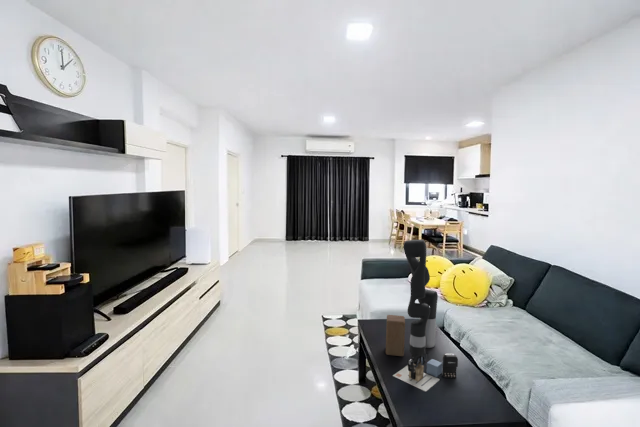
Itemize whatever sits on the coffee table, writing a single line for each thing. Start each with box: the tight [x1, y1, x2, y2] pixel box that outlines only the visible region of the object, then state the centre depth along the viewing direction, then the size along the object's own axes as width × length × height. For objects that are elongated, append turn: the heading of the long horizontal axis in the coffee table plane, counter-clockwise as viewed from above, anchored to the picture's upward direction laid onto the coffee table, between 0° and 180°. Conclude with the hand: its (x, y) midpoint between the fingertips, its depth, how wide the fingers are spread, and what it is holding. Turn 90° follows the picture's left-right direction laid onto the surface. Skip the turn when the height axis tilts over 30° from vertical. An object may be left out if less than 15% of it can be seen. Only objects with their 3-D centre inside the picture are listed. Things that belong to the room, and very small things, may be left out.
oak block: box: [409, 364, 425, 381], centre depth 170 cm, size 5×5×6 cm
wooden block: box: [385, 314, 406, 357], centre depth 196 cm, size 10×10×20 cm
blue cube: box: [426, 358, 442, 378], centre depth 175 cm, size 6×6×6 cm
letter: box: [392, 364, 440, 392], centre depth 170 cm, size 14×18×1 cm
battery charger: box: [441, 353, 459, 379], centre depth 171 cm, size 7×4×11 cm, turn 88°
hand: (416, 376), depth 170 cm, fingers open, 5 cm apart
